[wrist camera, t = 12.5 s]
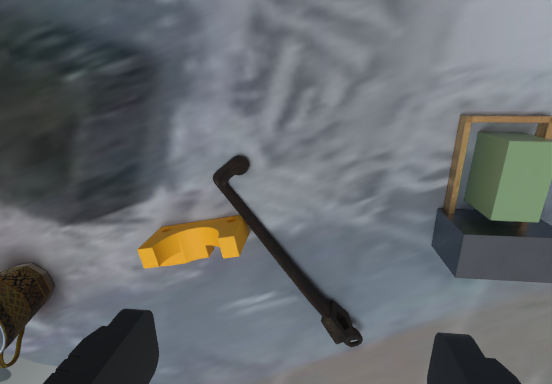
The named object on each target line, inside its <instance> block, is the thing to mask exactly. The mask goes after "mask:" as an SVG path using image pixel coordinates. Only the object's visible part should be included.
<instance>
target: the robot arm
mask: <svg viewBox="0 0 552 384" xmlns="http://www.w3.org/2000/svg"><path fill="white" fill-rule="evenodd" d="M158 358H159V348H158V342H157V336H156V330H155V323H154V317H153V314H152V312H151V311H150V310H138V309H123V310H121V311H120V312H119V313H118V315H117V316H116V317H115V318H114V319H113V320H112V322H111V323H110V324H109V325H108V326H101V327H100V328H99V329H97V330H96V331H94V332H93V333H91V334H90V335H88V336H87V337H85V338H84V339H83V340H82V341H81V342H80V343H79V344H78V345H77V346H76V348H75V349H74V350H73V351H72V352H71V353H70V354H69V355H68V359H65V360H64V361H63V362H62V363H61V364H60V365H59V366H58V368H57V369H56V372H55V373H52V374H51V375H50V376H49V378H48V379H47V380H46V381H45V382H44V383H43V384H149V382H150V380H151V378H152V377H153V375H154V373H155V370H156V367H157V364H158ZM427 384H521V383H520V382H519V380H518V379H517V377H516V376H514V375H513V374H512V373H511V372H510V371H509V370H508V369H506V368H505V367H504V366H503V365H502V364H501V363H500V362H498V361H497V360H496V359H494V358H485V356H484V355H483V353H482V352H481V350H480V349H479V347H478V345H477V344H476V342H475V341H474V339H473V338H472V337H471V336H470V335H465V334H452V333H437V334H436V336H435V339H434V344H433V349H432V355H431V360H430V365H429V370H428V375H427Z"/></svg>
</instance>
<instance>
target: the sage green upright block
mask: <svg viewBox="0 0 552 384" xmlns="http://www.w3.org/2000/svg"><path fill="white" fill-rule="evenodd" d="M551 180H552V140H551V139H547V138H542V137H538V136H534V135H529V134H525V133H504V132H478V136H477V141H476V145H475V150H474V155H473V160H472V165H471V169H470V174H469V179H468V184H467V188H466V193H465V198H464V200H465V201H466V202H467V203H469V204H470V205H471V206H473V207H474V208H475V209H476V210H478V211H479V212H480V213H482V214H483V215H484V216H486V217H487V218H488V219H490V220H496V221H519V222H539V220H540V216H541V213H542V210H543V206H544V203H545V200H546V196H547V193H548V190H549V186H550V183H551Z"/></svg>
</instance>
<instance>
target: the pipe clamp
mask: <svg viewBox="0 0 552 384" xmlns="http://www.w3.org/2000/svg"><path fill="white" fill-rule="evenodd" d="M249 233H250V231H249V227H248V224H247V223H246V221H245V220H244V219H243V218H242V216H241V215H237V216H231V217H224V218H217V219H211V220H204V221H198V222H191V223H184V224H178V225H171V226H164V227H161V228H160V229H159V230H158V231H157V232H155V233H154V234H153V235H152V236H151V237H150V238H149V239H148V240H147V241H146V242H145V243H144V244H143V245H142V246H141V247H140V248H138V249H137V250H138V253H139V256H140V258H141V261H142V264H143V266H144V268H152V267H159V266H160V265H161V266H169V265H176V264H184V263H188V262H190V261H193V260H197V259H201V258H207V257H209V256H210V255H211V253H212V251H213V250H214V247H213V246H218V247H220V249H221V252H222V255H223V258H230V257H238V256H240V254H241V251H242V249H243V247H244V244H245V242H246V240H247V237H248V235H249Z"/></svg>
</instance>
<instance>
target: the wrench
mask: <svg viewBox="0 0 552 384" xmlns="http://www.w3.org/2000/svg"><path fill="white" fill-rule="evenodd" d="M248 167H249V164H248V161H247V160H246V158H244V157H242V156H235V157H233V158H232V159H231V160H230V161H228V162H227V163H226V164H225V165H224V166H223V167H221V168H220V169H219V170H218V171H217V172H216V173H215V174H214V175H213V181H214V183H215V184H216V185H217V187H218V188H219V189H220V190H221V192H222V193H223V194H224V195H225V196H226V198H227V199H228V200H229V201H230V203H231V204H232V205H233V206H234V208H235V209H236V210H237V211H238V213H239V214H240V215H241V216H242V218H243V219H244V220H245V221H246V223H247V224H248V225H249V226H250V228H251V229H252V230H253V232H254V233H255V234H256V235H257V237H258V238H259V239H260V241H261V242H262V243H263V244H264V246H265V247H266V248H267V249H268V251H269V252H270V253H271V255H272V256H273V257H274V258H275V259H276V261H277V262H278V263H279V265H280V266H281V267H282V268H283V270H284V271H285V272H286V273H287V275H288V276H289V277H290V278H291V279H292V281H293V282H294V283H295V285H296V286H297V287H298V288H299V290H300V291H301V292H302V293H303V295H304V296H305V297H306V298H307V299H308V301H309V302H310V303H311V304H312V305H313V306H314V308H315V309H316V310H317V311H318V312H319V313H320V314H321V316H322V319H321V322H322V324H323V325H324V327H325V328H326V330H327V331H328V333H329V334H330V336H331V337H332V339H333V340H334V342H335V343H336V344H339V343H342V342H344V343H345V344H346V345H348V346H350V347H354V346H357V345H359V344H361V343H362V341H363V339H362V336H361V334H360V333H359V331H358V330H357V329H356V328H354V327H353V326H352V323H351V321H350V318H349V316H348V312H347V311H345V310H344V309H343V308H341V307H340V306H338V305H337V304H336V303H334V302H333V301H330V302H328V301H327V300H326V299H325V298H324V297H323V296H322V295H321V294H320V293H319V292H318V291H317V290H316V289H315V287H314V286H313V285H312V284H311V283H310V282H309V281H308V280H307V278H306V277H305V276H304V275H303V274H302V273H301V272H300V270H299V269H298V268H297V267H296V266H295V265H294V263H293V262H292V261H291V260H290V259H289V257H288V256H287V255H286V254H285V253H284V252H283V250H282V249H281V248H280V247H279V246H278V244H277V243H276V242H275V241H274V240H273V238H272V237H271V236H270V235H269V233H268V232H267V231H266V230H265V229H264V227H263V226H262V225H261V224H260V223H259V221H258V220H257V219H256V218H255V216H254V215H253V214H252V213H251V212H250V210H249V209H248V208H247V207H246V206H245V204H244V203H243V202H242V201H241V199H240V198H239V197H238V196H237V195H236V193H235V192H234V191H233V190H232V188H231V187H230V186H229V185H228V183H227V181H228V180H229V179H230V178H231V177H232V176H234V175H243V174H244V173H246V171H247V170H248ZM351 340H358V341H355V342H350V341H351Z"/></svg>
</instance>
